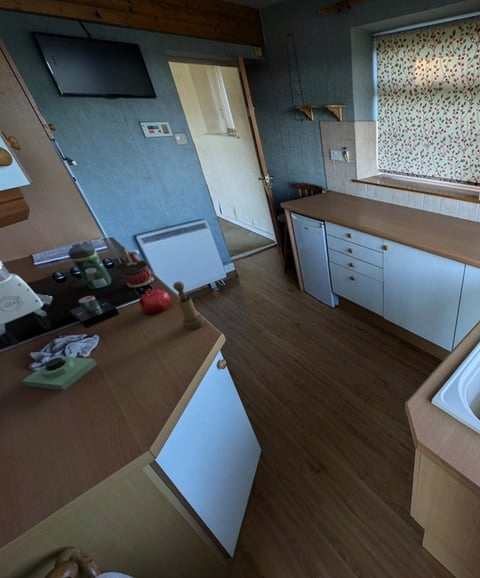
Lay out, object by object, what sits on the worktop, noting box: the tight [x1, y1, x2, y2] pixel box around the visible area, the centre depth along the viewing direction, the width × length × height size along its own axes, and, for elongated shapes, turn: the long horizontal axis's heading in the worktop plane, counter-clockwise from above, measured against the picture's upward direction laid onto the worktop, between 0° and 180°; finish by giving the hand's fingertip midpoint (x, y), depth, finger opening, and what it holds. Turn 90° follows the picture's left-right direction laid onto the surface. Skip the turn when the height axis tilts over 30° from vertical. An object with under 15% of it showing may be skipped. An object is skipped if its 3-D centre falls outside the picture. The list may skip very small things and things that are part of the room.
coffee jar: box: [67, 242, 112, 290], centre depth 126 cm, size 10×8×19 cm
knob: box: [78, 295, 100, 312], centre depth 109 cm, size 4×4×5 cm
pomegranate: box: [138, 288, 171, 314], centre depth 114 cm, size 10×10×9 cm
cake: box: [115, 246, 155, 289], centre depth 128 cm, size 11×9×18 cm
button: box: [43, 357, 65, 371], centre depth 85 cm, size 4×4×2 cm
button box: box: [21, 355, 98, 391], centre depth 86 cm, size 12×10×4 cm
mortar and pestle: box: [172, 281, 205, 331], centre depth 103 cm, size 7×6×18 cm
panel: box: [69, 298, 120, 329], centre depth 111 cm, size 12×10×3 cm
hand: (31, 334), depth 79 cm, fingers open, 6 cm apart
